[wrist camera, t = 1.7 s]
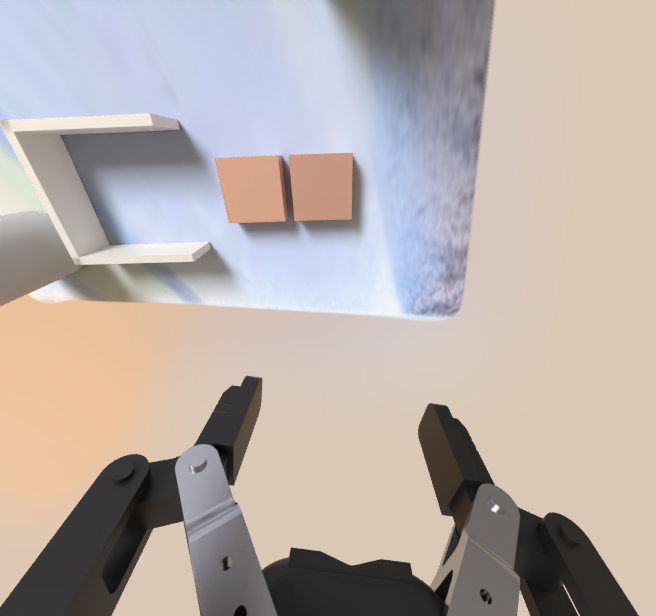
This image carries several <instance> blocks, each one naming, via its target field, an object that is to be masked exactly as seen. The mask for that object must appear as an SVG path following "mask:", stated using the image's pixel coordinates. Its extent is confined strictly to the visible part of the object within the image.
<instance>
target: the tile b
mask: <svg viewBox="0 0 656 616" xmlns="http://www.w3.org/2000/svg"><path fill="white" fill-rule="evenodd" d="M289 165H290V176H291V187H292V198H293V210H294V221H310V220H348V219H352V173H353V153H335V154H305V155H289Z"/></svg>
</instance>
